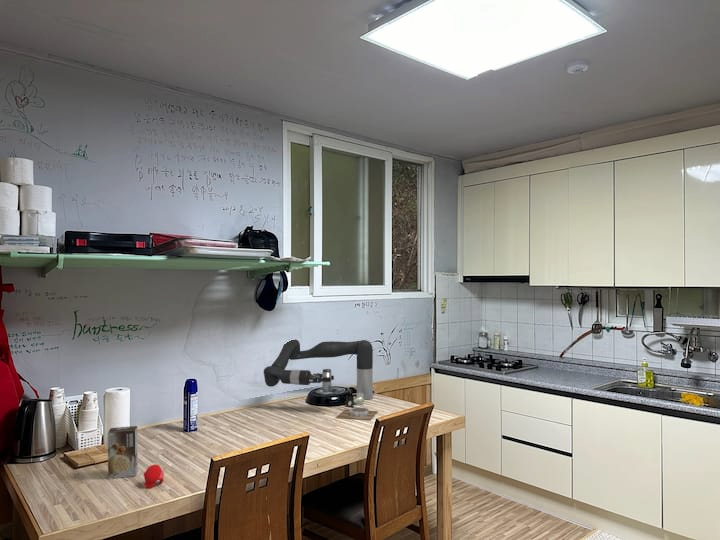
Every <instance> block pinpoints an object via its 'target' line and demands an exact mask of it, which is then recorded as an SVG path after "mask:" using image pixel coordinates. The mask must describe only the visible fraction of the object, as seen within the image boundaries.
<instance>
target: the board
mask: <svg viewBox="0 0 720 540" xmlns="http://www.w3.org/2000/svg"><path fill="white" fill-rule="evenodd" d="M349 410H350V409H344V410H342V411H341V412H340V413H339V414H338V415H337V416H336V417H335V419H339V420H353V421H354V420H355V421H370V422H371V421H372V419H374V418H375V416H376V415H377V413H379V411H378V410H369V415H368V416H366V417H352V416H350V415H349Z"/></svg>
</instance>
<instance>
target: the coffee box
mask: <svg viewBox="0 0 720 540" xmlns="http://www.w3.org/2000/svg"><path fill="white" fill-rule="evenodd" d="M138 455H139V454H138V425H133V426H132V425H131V426H122V427H121V426H120V427H111V428H110V429H109V430H108V432H107V479H108V478H113V479H118V478H119V479H120V478H130V477H131V478H132V477H136V476H137V474H138V472H139V469H138V468H139V467H138V464H139V463H138V461H139V460H138V457H139V456H138Z"/></svg>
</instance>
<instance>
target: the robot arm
mask: <svg viewBox="0 0 720 540" xmlns="http://www.w3.org/2000/svg"><path fill="white" fill-rule="evenodd" d="M294 339H295V340H291V341H289V342H287V343H286V344H283V346H282V349H281V350H280V352H279V354H278V355H277V358H275V360H274V362H272V364H271V365H269V366H266V367H265V368H264V369H263V376H264V382H265V385H266V386H267V387H269V388H270V387H271V388H273V387H276V385H278V384H279V382H281V383H282V384H283V385H287V384H288V385H295V386H296V385H297V386H309V385H311V384H320V383H322V382H330V381H331V382H332V381H333V380H334V379H335V376H334V375H332V374H331V378H330V377H322V373H321V372H320V373H319V372H317V373H312V372H311V370H310V369H309V370H307V369H305V370H304V369H300V370H299V369H292V370H291V369H286V368H287V366H288V363H289V361H290V360H291V361H295V360H304V359H314V358H315V359H316V358H318V359H321V358H325V359H327V358H337V357H342V356H343V357H344V356H348V355H356V394H357V393H363V394H364V397H363V398H364V401H365V400H367V401H368V400H371V399H373V398H374V397H373V396H374V394H373V393H374V391H373V390H374V385H373V383H374V382H373V380H374V379H373V378H374V377H373V373H374V372H373V366H374V365H373V364H374V363H373V362H374V361H373V359H374V357H373V353H374V351H373V344H372V342H370V341H369V340H367V339H366V340H365V339H362V340H361V339H360V340H356V341H334V340H333V341H321V342H319V343H318V344H316V345H314V346H313V347H312V348H310V349H305V350H301V344H300V340H298V339H296V338H294ZM289 359H290V360H289Z"/></svg>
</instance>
